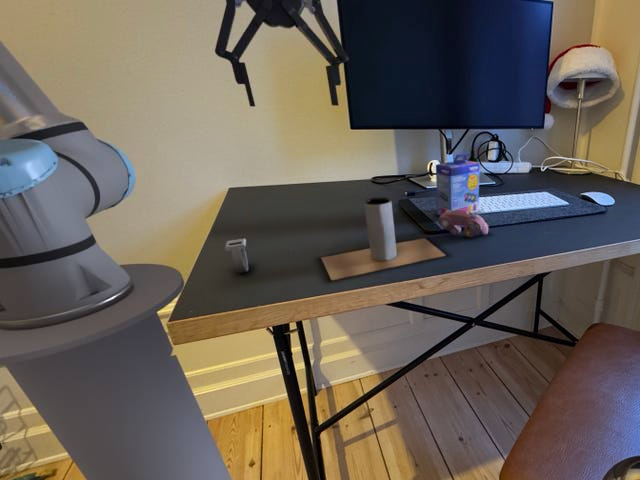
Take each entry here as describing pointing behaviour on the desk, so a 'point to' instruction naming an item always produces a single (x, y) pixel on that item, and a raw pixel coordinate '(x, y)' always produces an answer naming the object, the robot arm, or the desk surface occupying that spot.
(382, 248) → the planter
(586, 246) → the desk surface
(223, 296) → the desk surface
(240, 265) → the wristwatch
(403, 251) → the cork mat
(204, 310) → the desk surface
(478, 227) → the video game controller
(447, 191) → the ink cartridge box
